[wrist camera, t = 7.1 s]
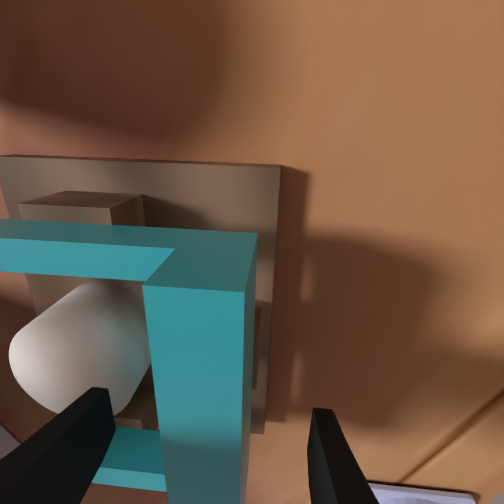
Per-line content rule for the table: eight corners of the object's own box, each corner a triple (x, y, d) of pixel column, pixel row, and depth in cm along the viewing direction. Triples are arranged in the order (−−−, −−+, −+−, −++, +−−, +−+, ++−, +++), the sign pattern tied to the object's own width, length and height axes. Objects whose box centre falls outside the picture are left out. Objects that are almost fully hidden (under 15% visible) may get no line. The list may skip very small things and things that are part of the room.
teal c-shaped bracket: (55, 435, 16) (-21, 538, 12) (-11, 218, 12) (-167, 263, 8) (249, 456, 15) (237, 573, 11) (258, 232, 11) (244, 292, 7)
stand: (75, 398, 21) (8, 486, 16) (14, 154, 15) (-127, 165, 10) (264, 417, 20) (259, 516, 15) (280, 164, 14) (281, 183, 9)
